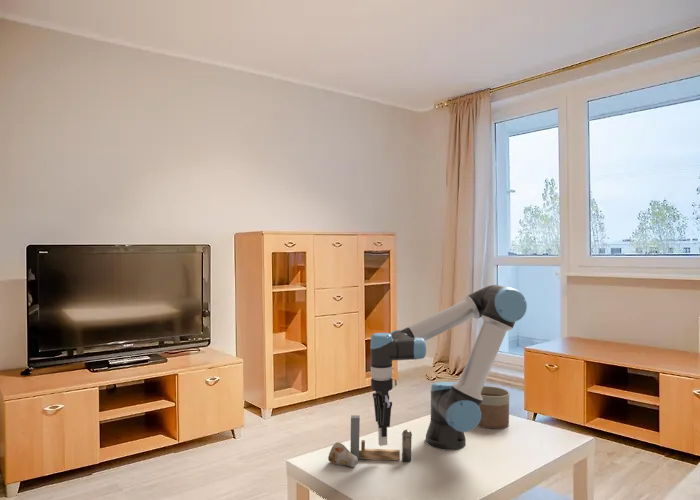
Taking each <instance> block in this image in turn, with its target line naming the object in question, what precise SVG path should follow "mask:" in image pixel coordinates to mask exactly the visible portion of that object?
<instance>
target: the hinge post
mask: <svg viewBox="0 0 700 500" xmlns="http://www.w3.org/2000/svg"><path fill="white" fill-rule="evenodd" d="M412 434H413V433H412V432H411V430H409V429H404V430H403V431H402V434H401V436H402V439H401V440H402V441H401V442H402V443H401V448H402V449H401V452H402V453H401V461H402V463H407V464H408V463H412V439H413V438H412V437H413V435H412Z"/></svg>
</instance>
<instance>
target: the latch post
mask: <svg viewBox="0 0 700 500" xmlns="http://www.w3.org/2000/svg"><path fill="white" fill-rule="evenodd" d="M360 418H361V416H360V415H356V414H355V415H352V414H351V416H350V451H349V452H350V453H351V454H353V455H355V456H356V457H357V459H358V462H359V461H360V458H361V449H360V422H361V421H360V420H361V419H360Z"/></svg>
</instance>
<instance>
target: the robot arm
mask: <svg viewBox="0 0 700 500" xmlns="http://www.w3.org/2000/svg"><path fill="white" fill-rule="evenodd" d="M527 306H528V303H527V300H526V297H525V296H524V294H523V293H522V292H521V291H519V290H518V289H516V288H513V287H510V286H503V285H498V284H491V285H487V286H484V287H483V288H481V289H479V290H477V291H474V292H472V293H470V294H468V295H466V296H465V298H464V299H463V300H462V301H459V302H457V303H455V304H454V305H451V306H450V307H448V308H446V309H443V310H441V311H439V312H437V313H434V314H432V315H430V316H428V317H426V318H424V319H422V320H419V321H418V322H416V323H413V324H412V325H409V326H408V327H405V328H402V329H401V330H399V329H397V330H396V329H395V330H393V331H391V332H390V333H387V332H377V333H372V335H371V336H370V347H369V348H370V377H371V378H370V385H371V386H370V387H371V390H372V391H375V392H373V393H372V398H373V405H374V415H375V422H377V429H378V431H377V432H378V435H377V436H378V445H379V446H380V447H381V446H382V447H383V446H388V428H389V427H391V426H390V425H391V416H392V414H391V413H392V408H393V407H392V406H393V402H392V401H390V394H389V391H391V390H393V388H394V385H393V383H394V382H393V370H394V367H393V361H410V360H415V361H416V360H422V359H425V357H426V355H427V345H426V342H427V341H428V340H430V339H433V338H434V337H437V336H439V335H441V334H442V333H445V332H447V331H449V330H451V329H453V328H455V327H458V326H460V325H462V324H463V323H466V322H468V321H469V320H473V319H476V320H478V319H481V318H482V320H483V323H482V325H481V327H480V330H479V332H478V335H477V337H476V339H475V341H474V344H473V347H472V349H471V352H470V354H469V356H468V358H467V360H466V364H465V366H464V367H463V370H462V373H461V375H460V377H459V380H458V381H457V382H454V381H453V382H452V381H439V382H438V381H436V382H433V383H432V384H431V386H430V421H429V422H430V423H429V425H428V428H427V430H426V434H425V443H426V445H428V446H430V447H432V448H435V449H439V450H444V451H448V450H449V451H450V450H451V451H455V450H461V449H463V448H465V446H466V443H467V442H466V439H467V438H466V435H465V433H466V432H470V431H473V430H474V429H476V428H477V427H478V424H479V422H480V420H481V410H480V405H481V403H482V400H483V398H482V396H481V391H482V389H483V386H485V383H486V381H487V379H488V377H489V375H490V371H491V369H492V368H493V364H494V363H495V360H496V357H497V354H499V353H498V352H499V350H500V348H501V345H502V343H503V341H504V340H505V339H504V338H505V336H506V334H507V332H508V331H511V330H513V328H514V326H515V324H516V322H518V321H520V320H522V318H523V317H525V314H526V312H527V308H528V307H527Z"/></svg>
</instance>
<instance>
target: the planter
mask: <svg viewBox="0 0 700 500" xmlns="http://www.w3.org/2000/svg"><path fill="white" fill-rule="evenodd" d="M481 396H482V398H483V400H482V403H481V405H480V410H481V420H480V422H479V424H478V425H477V427H478V426H479V427H482V428H487V429H502V428H505V427H508V426H509V424H510V392H509V391H508V390H507V389H504V388H501V387H497V386H489V385H488V386H485V385H484V386H483V389H482V391H481Z"/></svg>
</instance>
